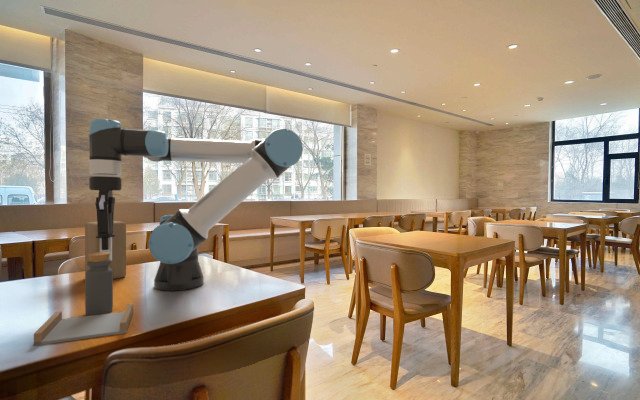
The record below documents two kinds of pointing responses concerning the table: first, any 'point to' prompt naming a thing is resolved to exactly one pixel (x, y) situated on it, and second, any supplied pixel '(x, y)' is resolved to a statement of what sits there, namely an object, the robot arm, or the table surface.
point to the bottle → (98, 285)
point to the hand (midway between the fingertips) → (105, 260)
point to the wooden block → (117, 247)
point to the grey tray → (82, 327)
